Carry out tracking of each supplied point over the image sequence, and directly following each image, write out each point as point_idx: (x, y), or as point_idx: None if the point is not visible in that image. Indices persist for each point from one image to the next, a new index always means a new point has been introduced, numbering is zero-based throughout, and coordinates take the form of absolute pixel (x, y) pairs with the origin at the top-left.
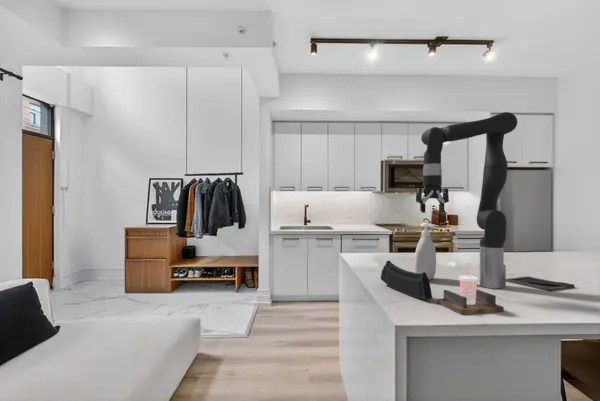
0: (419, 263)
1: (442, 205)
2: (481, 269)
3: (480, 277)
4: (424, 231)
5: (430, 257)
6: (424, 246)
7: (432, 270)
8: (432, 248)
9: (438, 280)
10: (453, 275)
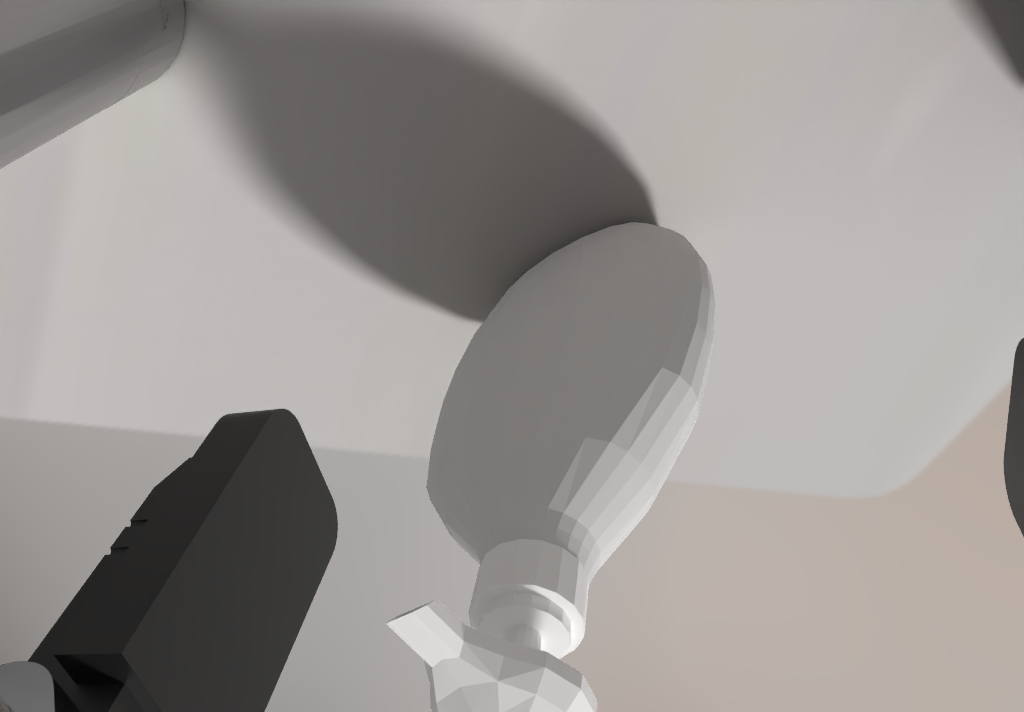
0: (681, 278)
1: (135, 593)
2: (93, 18)
3: (145, 21)
4: (554, 610)
5: (535, 339)
6: (603, 406)
7: (521, 292)
8: (486, 419)
9: (483, 240)
10: (302, 394)
